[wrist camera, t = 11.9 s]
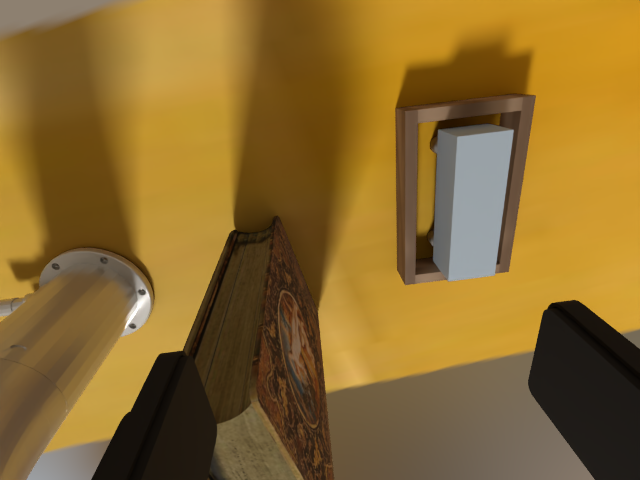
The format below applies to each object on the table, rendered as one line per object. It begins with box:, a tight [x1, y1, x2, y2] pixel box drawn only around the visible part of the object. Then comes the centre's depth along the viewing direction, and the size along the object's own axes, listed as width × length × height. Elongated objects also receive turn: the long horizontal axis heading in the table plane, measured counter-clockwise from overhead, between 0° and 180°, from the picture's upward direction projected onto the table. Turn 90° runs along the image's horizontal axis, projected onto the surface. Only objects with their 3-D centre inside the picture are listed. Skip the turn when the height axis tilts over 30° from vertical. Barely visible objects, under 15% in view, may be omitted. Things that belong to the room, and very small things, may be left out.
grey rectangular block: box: [433, 123, 514, 281], centre depth 35 cm, size 15×5×4 cm, turn 6°
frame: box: [396, 94, 536, 285], centre depth 38 cm, size 12×19×4 cm, turn 6°
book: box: [183, 216, 334, 480], centre depth 32 cm, size 16×6×25 cm, turn 18°
